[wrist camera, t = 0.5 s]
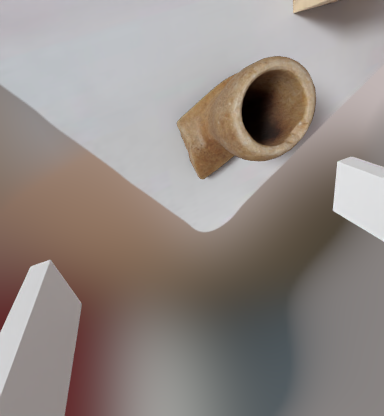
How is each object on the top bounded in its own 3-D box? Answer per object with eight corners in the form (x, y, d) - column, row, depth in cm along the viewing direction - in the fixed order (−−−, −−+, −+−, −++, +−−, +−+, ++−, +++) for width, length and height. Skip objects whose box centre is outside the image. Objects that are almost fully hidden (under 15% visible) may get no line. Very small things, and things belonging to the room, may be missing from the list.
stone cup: (241, 44, 33) (321, 21, 20) (273, 119, 39) (350, 139, 26) (152, 114, 34) (174, 134, 21) (197, 176, 40) (236, 222, 27)
